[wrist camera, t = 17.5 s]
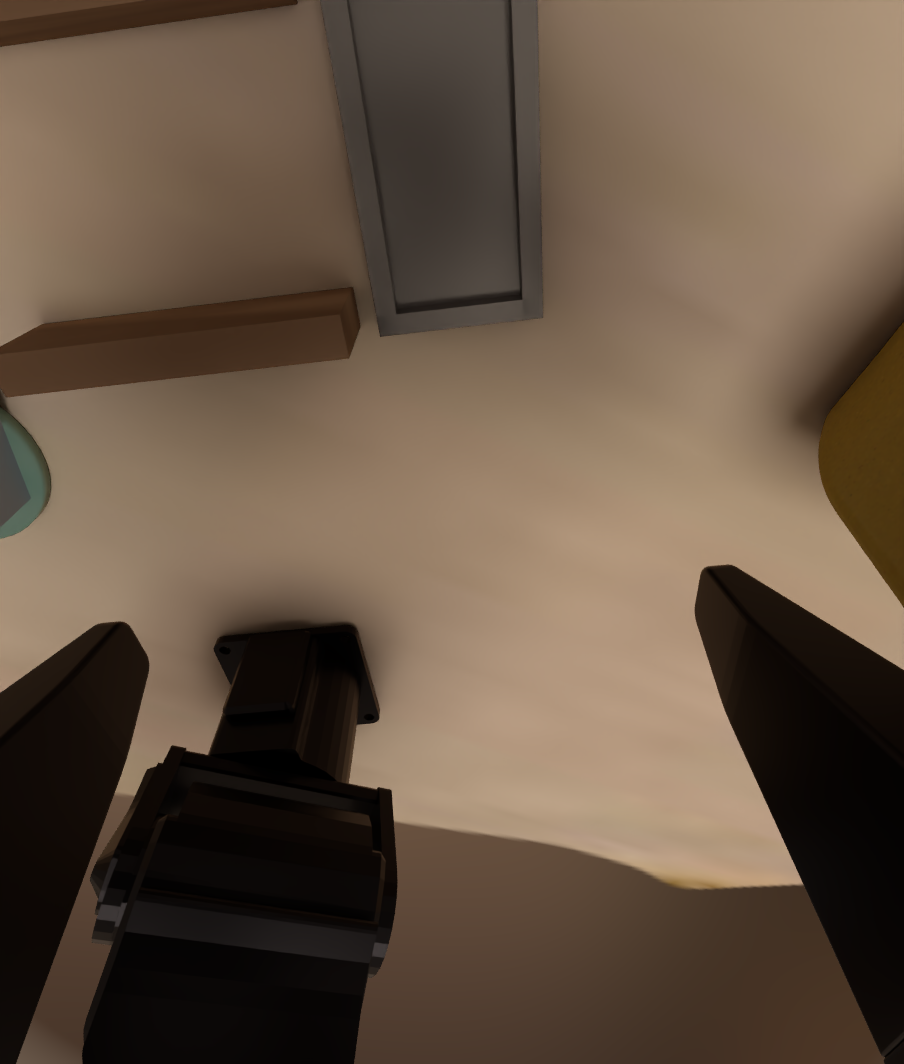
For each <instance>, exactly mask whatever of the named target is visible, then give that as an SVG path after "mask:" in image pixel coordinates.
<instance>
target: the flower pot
mask: <svg viewBox="0 0 904 1064" xmlns="http://www.w3.org/2000/svg"><path fill="white" fill-rule="evenodd" d="M818 458H819V469H820V475H821V480H822V484H823V487H824V489H825V492H826V495H827V497H828V499H829V501H830V503H831V504H832V506H833V508H834V509H835V511H836V512H837V514H838V515H839V517H840V518H841V520H842V521H843V522H844V524H845V525H846V527H847V528H848V530H849V531H850V532H851V534H852V535H853V536H854V538H855V539H856V541H857V542H858V544H859V545H860V546H861V548H862V549H863V551H864V552H865V553H866V555H867V556H868V557H869V559H870V560H871V562H872V563H873V565H874V566H875V568H876V569H877V570H878V572H879V573H880V575H881V576H882V577H883V579H884V580H885V582H886V583H887V584H888V586H889V587H890V589H891V590H892V591H893V593H894V594H895V595H896V597H897V598H898V600H899V601H900V603H901V604H902V606H903V607H904V322H903V323H902V324H901V326H900V327H899V328H898V329H897V331H896V332H895V333H894V334H893V336H892V337H891V338H890V339H889V341H888V342H887V343H886V344H885V346H884V347H883V348H882V349H881V351H880V352H879V353H878V354H877V356H876V357H875V358H874V359H873V360H872V362H871V363H870V364H869V365H868V367H867V368H866V369H865V370H864V371H863V372H862V373H861V375H860V376H859V377H858V378H857V379H856V381H855V382H854V383H853V384H852V386H851V387H850V388H849V389H848V390H847V391H846V393H845V394H844V395H843V396H842V397H841V398H840V400H839V401H838V402H837V403H836V405H835V406H834V407H833V408H832V410H831V411H830V412H829V414H828V415H827V417H826V419H825V422H824V425H823V429H822V433H821V438H820V442H819V454H818Z"/></svg>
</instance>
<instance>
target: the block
mask: <svg viewBox="0 0 904 1064" xmlns="http://www.w3.org/2000/svg"><path fill="white" fill-rule="evenodd" d="M30 499H31V497H30V494H29V492H28V489H27V487H26V484H25V482H24V479H23V477H22V474H21V471H20V469H19V466H18V464H17V461H16V459H15V456H14V454H13V451H12V449H11V446H10V443H9V441H8V438H7V436H6V433H5V431H4V428H3V426H2V423H1V420H0V527H1V526H2V525H4V524H5V523H6V522H7V521H8V520H9V519H10V518H11V517H12V516H13V515H14V514H15V513H16V512H17V511H18V510H19V509H20V508H21V507H22V506H23V505H25V504H26V503H27V502H28V501H29V500H30Z"/></svg>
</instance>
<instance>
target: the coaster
mask: <svg viewBox="0 0 904 1064" xmlns="http://www.w3.org/2000/svg"><path fill="white" fill-rule="evenodd" d="M0 420H1V423H2V426H3V428H4V431H5V433H6V436H7V438H8V441H9V443H10V446H11V449H12V451H13V454H14V456H15V459H16V461H17V464H18V466H19V469H20V471H21V474H22V477H23V479H24V482H25V484H26V487H27V489H28V492H29V494H30V497H31V499H30V500H29V501H28V502H27V503H26V504H25V505H23V506H22V507H21V508H20V509H19V510H18V511H17V512H16V513H15V514H14V515H13V516H12V517H11V518H10V519H9V520H8V521H7V522H6V523H5V524H4V525H2V526H1V527H0V538H5V537H8V536H12V535H14V534H16V533H19V532H21V531H22V530H24V529H25V528H26V527H28V526H29V525H30V524H31V523H32V522H33V521H34V520H35V519H36V518H37V517H38V516H39V515H40V514H41V512H42V511H43V510H44V508H45V507H46V505H47V502H48V500H49V496H50V490H51V484H50V475H49V470H48V467H47V464H46V461H45V459H44V457H43V455H42V453H41V451H40V449H39V448H38V446H37V445H36V443H35V442H34V440H33V439H32V437H31V436H30V435H29V434H28V432H27V431H26V430H25V429H24V428H23V427H22V426H21V425H20V424H19V423H18V422H17V421H16V420H15V419H14V418H13V417H12V416H11V415H10V414H8V413H7V412H6V411H5V410H4V409H2V408H1V407H0Z"/></svg>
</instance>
